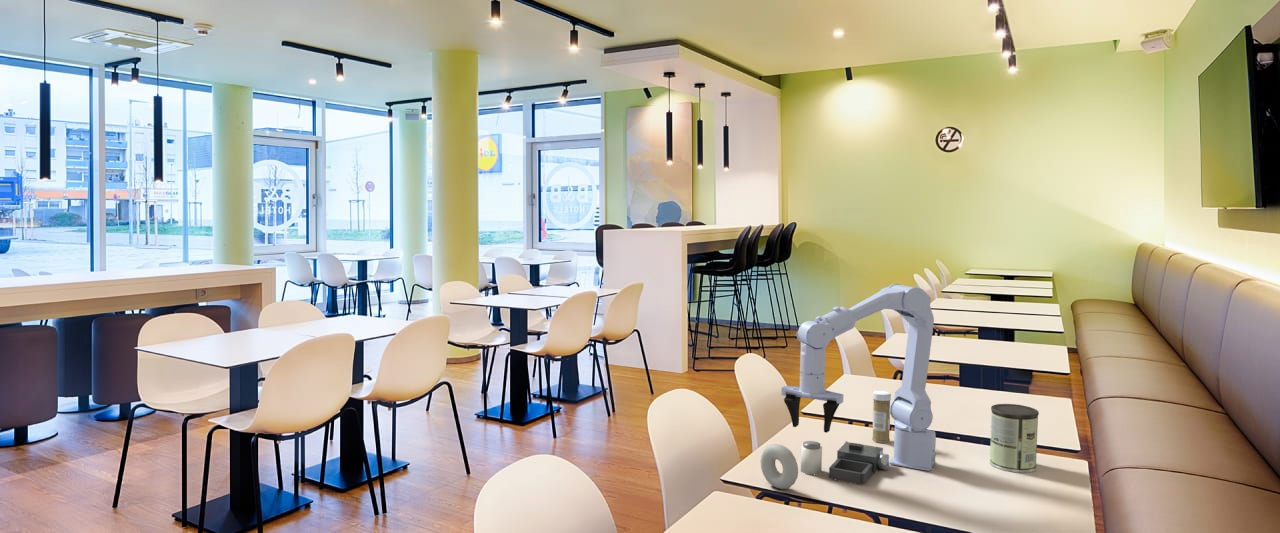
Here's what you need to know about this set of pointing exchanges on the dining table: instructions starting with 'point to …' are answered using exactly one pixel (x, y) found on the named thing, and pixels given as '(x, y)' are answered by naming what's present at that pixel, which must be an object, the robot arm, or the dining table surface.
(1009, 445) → the coffee can
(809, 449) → the white gray cylinder
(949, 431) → the dining table surface
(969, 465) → the dining table surface
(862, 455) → the drawer
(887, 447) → the dining table surface
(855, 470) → the dark grey square tray
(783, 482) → the donut
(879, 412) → the sprinkles bottle
